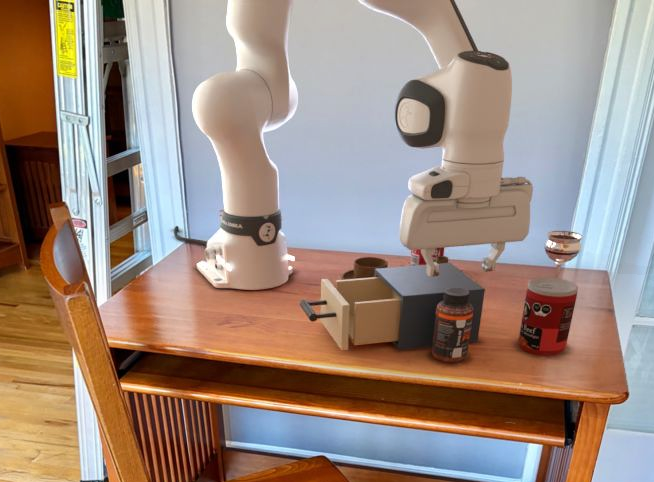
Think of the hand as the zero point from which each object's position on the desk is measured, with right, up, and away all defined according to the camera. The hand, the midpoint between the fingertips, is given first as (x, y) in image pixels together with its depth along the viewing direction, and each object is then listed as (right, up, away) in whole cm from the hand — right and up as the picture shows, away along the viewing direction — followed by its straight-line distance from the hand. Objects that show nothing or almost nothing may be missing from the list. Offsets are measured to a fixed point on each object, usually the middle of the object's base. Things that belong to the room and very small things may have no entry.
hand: (460, 273), depth 116 cm
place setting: (-8, +7, +36) cm, 38 cm away
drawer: (-16, -7, +14) cm, 22 cm away
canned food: (+16, -10, +12) cm, 22 cm away
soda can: (+2, +13, +46) cm, 47 cm away
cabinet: (-3, -5, +17) cm, 19 cm away
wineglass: (+25, +5, +33) cm, 42 cm away
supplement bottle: (0, -12, +8) cm, 15 cm away
